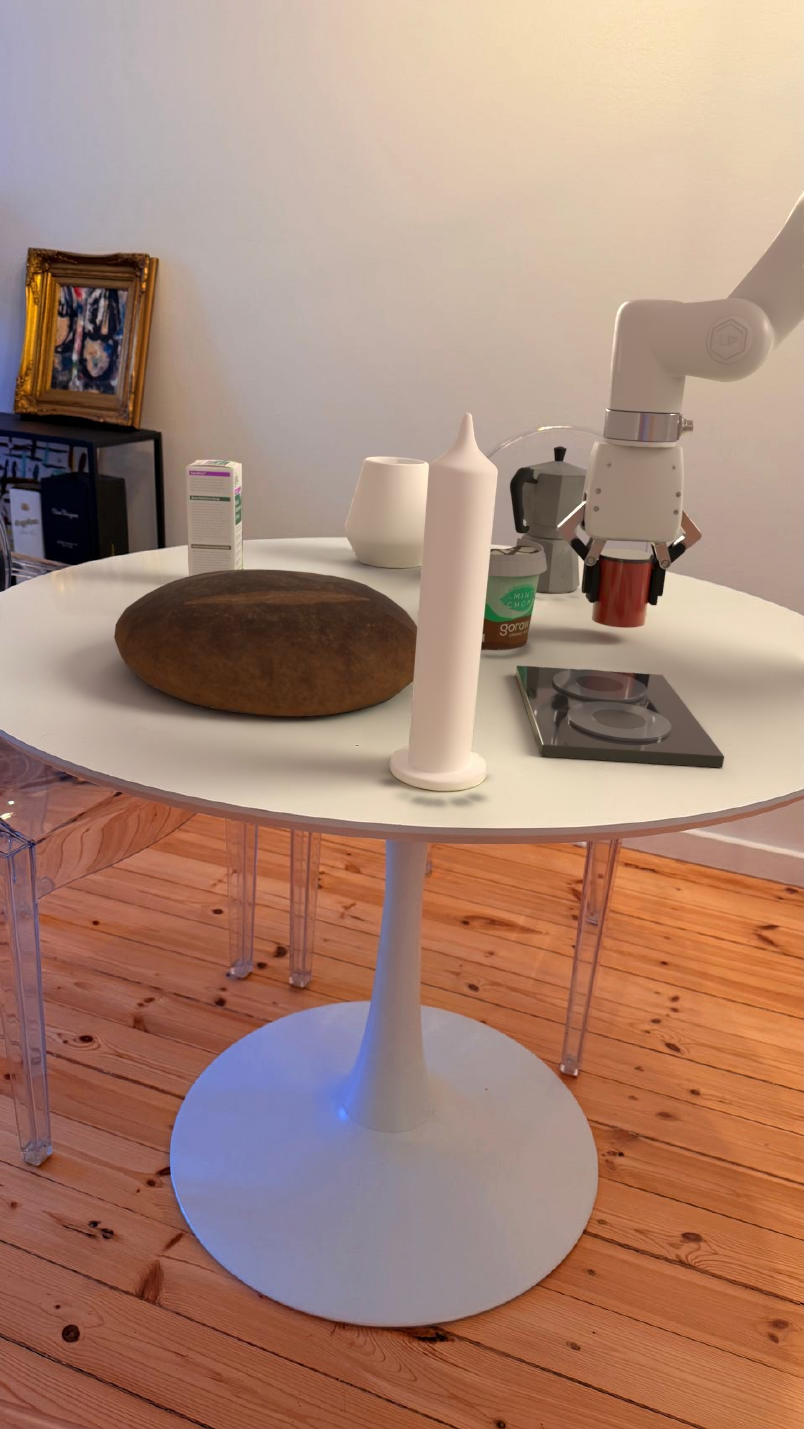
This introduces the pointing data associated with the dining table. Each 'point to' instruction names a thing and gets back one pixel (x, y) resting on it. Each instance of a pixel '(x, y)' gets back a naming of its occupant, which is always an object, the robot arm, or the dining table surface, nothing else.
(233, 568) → the syrup box
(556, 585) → the coffeepot
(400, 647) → the bread
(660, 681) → the hob
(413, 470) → the white vase
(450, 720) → the candle
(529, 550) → the food container
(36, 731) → the dining table surface
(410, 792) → the dining table surface
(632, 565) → the red canister
